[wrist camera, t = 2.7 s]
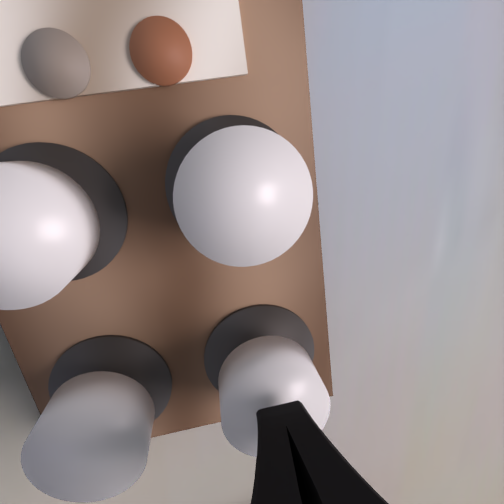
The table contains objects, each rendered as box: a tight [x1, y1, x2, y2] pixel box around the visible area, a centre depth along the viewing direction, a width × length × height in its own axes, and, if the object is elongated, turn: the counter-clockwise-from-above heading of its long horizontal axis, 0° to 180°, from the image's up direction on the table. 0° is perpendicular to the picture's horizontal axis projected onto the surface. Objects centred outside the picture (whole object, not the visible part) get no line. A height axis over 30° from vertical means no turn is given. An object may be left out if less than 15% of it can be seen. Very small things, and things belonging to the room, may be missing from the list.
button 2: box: [21, 371, 155, 502], centre depth 11 cm, size 4×4×2 cm
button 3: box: [173, 125, 313, 267], centre depth 9 cm, size 4×4×2 cm
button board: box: [0, 0, 333, 438], centre depth 12 cm, size 12×19×2 cm, turn 8°
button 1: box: [0, 161, 100, 310], centre depth 9 cm, size 4×4×2 cm
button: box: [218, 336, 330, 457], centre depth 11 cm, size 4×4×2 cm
